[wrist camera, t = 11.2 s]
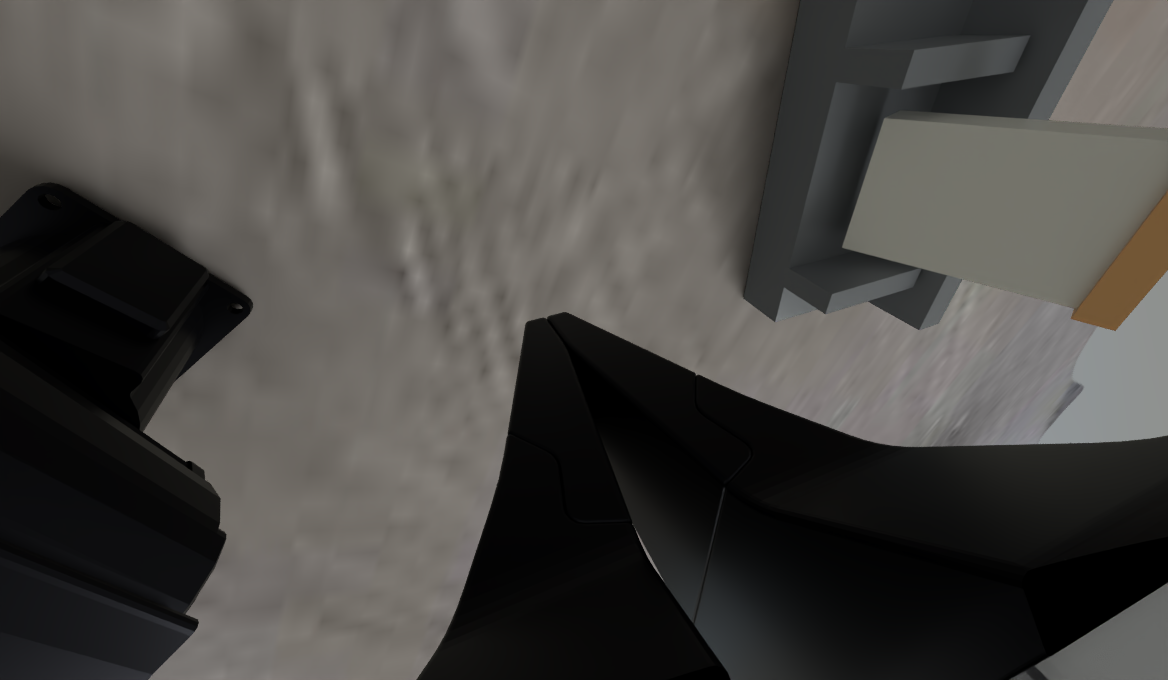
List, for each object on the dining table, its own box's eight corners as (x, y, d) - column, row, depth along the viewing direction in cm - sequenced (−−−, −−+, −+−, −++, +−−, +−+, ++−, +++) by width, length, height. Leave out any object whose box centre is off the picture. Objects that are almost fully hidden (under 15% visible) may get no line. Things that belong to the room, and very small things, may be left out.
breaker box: (743, 298, 28) (827, 361, 22) (804, -23, 18) (978, -46, 13) (839, 271, 30) (938, 323, 24) (942, -32, 20) (1143, -56, 15)
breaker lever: (837, 255, 22) (1115, 331, 16) (884, 111, 18) (1279, 139, 12) (857, 238, 23) (1120, 302, 17) (905, 101, 19) (1270, 122, 13)
